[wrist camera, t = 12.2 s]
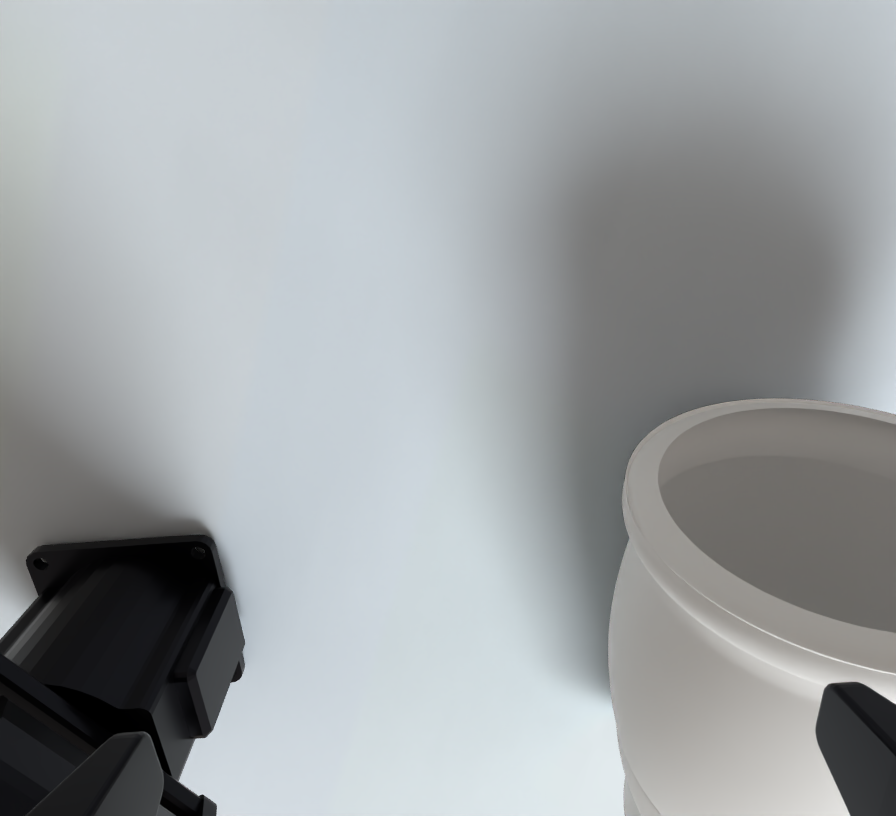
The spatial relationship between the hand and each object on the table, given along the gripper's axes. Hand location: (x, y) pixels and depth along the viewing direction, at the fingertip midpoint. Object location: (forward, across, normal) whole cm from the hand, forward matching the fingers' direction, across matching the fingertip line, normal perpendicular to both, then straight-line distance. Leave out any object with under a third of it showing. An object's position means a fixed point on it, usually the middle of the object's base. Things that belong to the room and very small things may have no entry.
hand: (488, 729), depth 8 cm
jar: (+9, -10, +16) cm, 21 cm away
